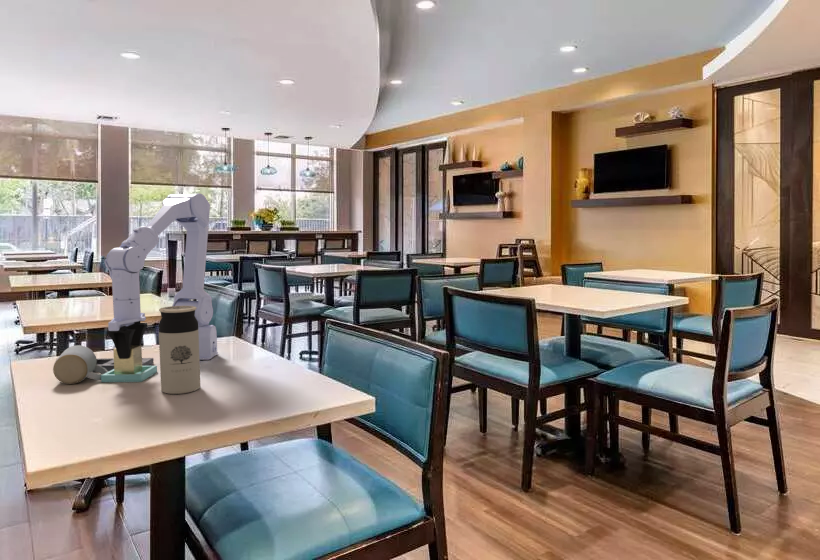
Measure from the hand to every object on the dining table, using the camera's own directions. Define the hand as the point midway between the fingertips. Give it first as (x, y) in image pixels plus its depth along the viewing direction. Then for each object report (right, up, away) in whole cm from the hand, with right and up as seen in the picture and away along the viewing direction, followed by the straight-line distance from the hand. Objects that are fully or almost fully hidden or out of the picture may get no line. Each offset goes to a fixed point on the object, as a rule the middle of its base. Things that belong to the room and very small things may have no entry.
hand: (129, 356), depth 137 cm
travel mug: (+16, -6, -10) cm, 20 cm away
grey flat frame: (-9, -4, +10) cm, 14 cm away
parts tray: (0, -5, 0) cm, 5 cm away
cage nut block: (0, -4, 0) cm, 4 cm away
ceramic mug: (-10, -6, -2) cm, 12 cm away
